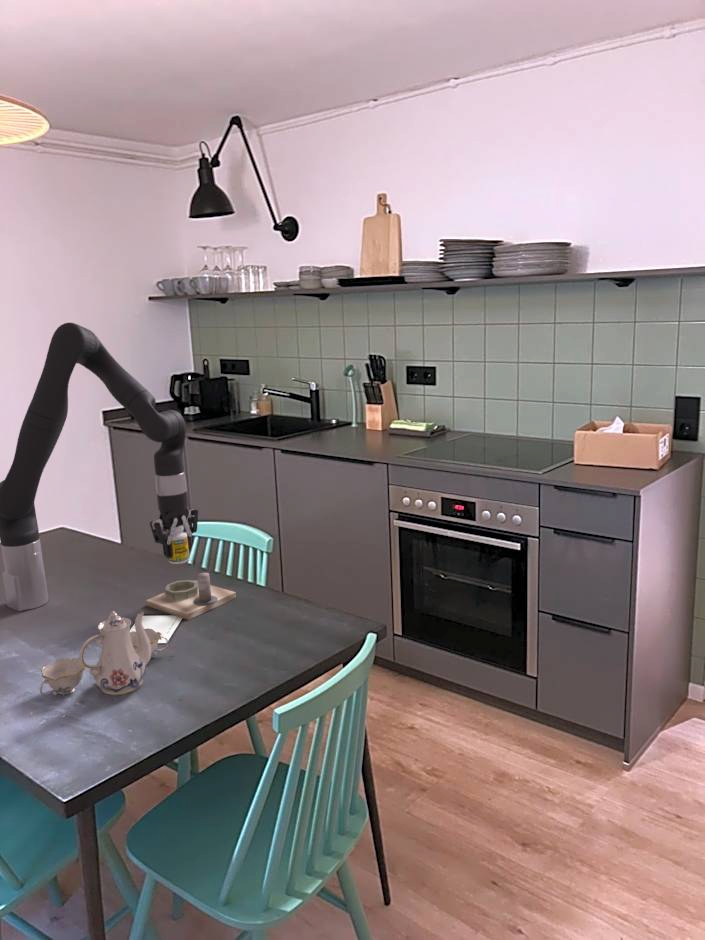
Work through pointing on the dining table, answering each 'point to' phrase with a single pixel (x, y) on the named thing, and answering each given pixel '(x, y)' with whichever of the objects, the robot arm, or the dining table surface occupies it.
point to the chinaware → (109, 659)
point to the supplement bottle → (179, 546)
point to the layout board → (190, 597)
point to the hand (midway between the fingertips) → (178, 553)
